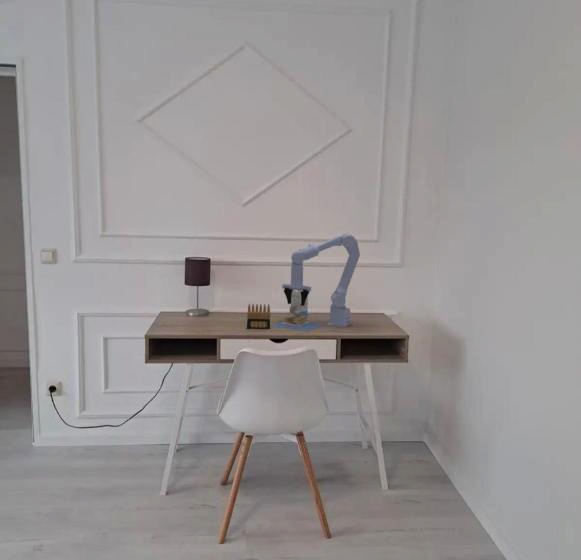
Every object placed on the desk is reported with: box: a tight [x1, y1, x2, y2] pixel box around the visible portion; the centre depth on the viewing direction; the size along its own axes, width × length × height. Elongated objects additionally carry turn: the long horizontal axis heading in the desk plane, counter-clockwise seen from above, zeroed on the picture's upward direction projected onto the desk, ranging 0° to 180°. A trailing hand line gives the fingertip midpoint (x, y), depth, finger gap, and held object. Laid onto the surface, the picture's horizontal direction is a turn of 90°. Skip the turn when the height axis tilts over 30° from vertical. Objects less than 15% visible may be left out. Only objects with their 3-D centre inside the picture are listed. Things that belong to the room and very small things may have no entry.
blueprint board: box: [270, 319, 325, 332], centre depth 246 cm, size 20×18×1 cm
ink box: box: [290, 288, 309, 317], centre depth 269 cm, size 8×5×15 cm, turn 39°
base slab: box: [283, 314, 308, 325], centre depth 251 cm, size 8×8×3 cm
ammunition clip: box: [246, 303, 271, 330], centre depth 236 cm, size 11×2×12 cm, turn 91°
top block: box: [289, 305, 302, 318], centre depth 250 cm, size 4×4×5 cm
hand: (296, 304), depth 250 cm, fingers open, 7 cm apart
